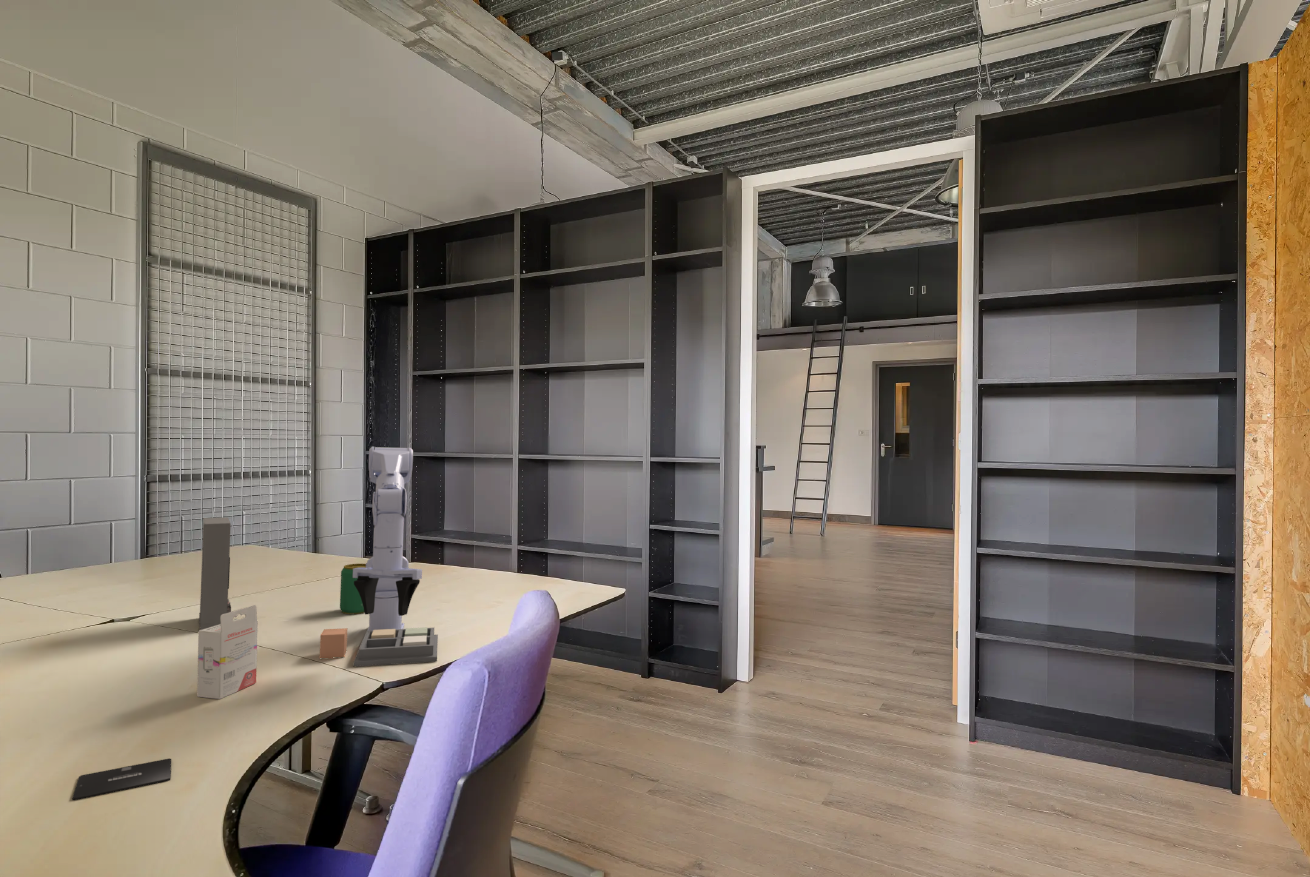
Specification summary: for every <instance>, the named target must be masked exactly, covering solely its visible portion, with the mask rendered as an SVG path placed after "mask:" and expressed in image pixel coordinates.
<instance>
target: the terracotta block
mask: <svg viewBox="0 0 1310 877" xmlns="http://www.w3.org/2000/svg"><path fill="white" fill-rule="evenodd" d="M347 648H348V628H347V627H346V628H345V627H344V628H326V629H325V628H324V629H323V631H322V632H321V633H320V637H319V659H320V658H328V659H334V658H333V657H344V658H345V656H346V654H347V652H346V651H348V649H347ZM344 655H345V656H344Z"/></svg>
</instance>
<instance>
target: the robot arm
mask: <svg viewBox="0 0 1310 877" xmlns="http://www.w3.org/2000/svg"><path fill="white" fill-rule="evenodd" d="M368 451H369V452H368V471H369V472H368V474H369V480H370V482H371V483H373V484H375V491H373V494H372V507H371V508H372V517H373V519H372V520H373V526H374V527H373V542H372V543H373V548H372V552H373V553H372V556H371V557H369V559H368V560H367V562H365V564H366V568H354V569H353V578H358V579H357V580H356V581H354V585H355V587H356V589H357V590H358V592H359V595H360V597H361V600H362V604H363V608H364V612H365V613H364V615H369V620H368V624H369V625H368V628H367V629H366V632H367V631H371V630H382V629H405V623H404V622H402V621H403V620H402V618H403V616H405V615H406V616H407V614H408V611H409V608H410V604H411V601H412V599H413V597H414V593H415V591H416V590H417V588H418V586H419V584H420V583H421V581H420V580H421V579H422V578H423V569H422V568H420V569H419V568H411V567H410V566H409V564H410V563H409V560H408V559H407V558H406V557H405V556H403V553H404V527H405V526H404V525H405V524H404V522H405V518H404V517H405V516H406V514H407V503H408V502H407V500H408V498H407V497H408V496H407V494H408V493H407V489H406V488H405V484H408V483H409V482H411V481H410V480H411V478H412V473H413V464H414V463H413V462H414V450H413V449H412V447H382V446H381V447H378V446H377V447H376V446H371V447H370V448H369V450H368ZM402 514H403V515H404V516H403V515H402ZM409 567H410V568H409Z"/></svg>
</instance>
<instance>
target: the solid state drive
mask: <svg viewBox="0 0 1310 877" xmlns="http://www.w3.org/2000/svg"><path fill="white" fill-rule="evenodd" d="M171 774H172V758H164V759H159V760H154V761H148V762H145V763H138V764H133V765H127V766H124V767H118V768H113V769H107V770H102V771H97V772H91V773H86V774H81V775H80V776H78V778H77V779H78V780H77V783H76V785H75V788H74V792H73V794H72V798H71V799H72V801H79V800H84V799H88V798H93V797H98V796H103V795H108V794H113V793H118V792H122V791H126V790H127V791H128V790H131V789H136V788H142V787H146V786H151V785H152V786H153V785H157V784H161V783H167V782H169V781H171V778H172V775H171Z"/></svg>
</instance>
